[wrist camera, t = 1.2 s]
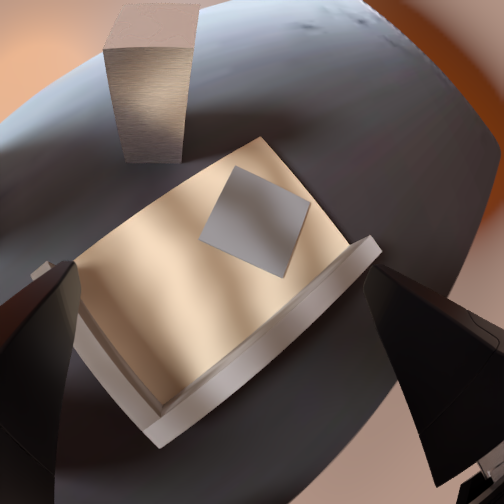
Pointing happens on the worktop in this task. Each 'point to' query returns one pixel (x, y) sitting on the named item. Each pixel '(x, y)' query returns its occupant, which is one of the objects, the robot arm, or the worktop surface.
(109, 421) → the worktop surface
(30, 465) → the robot arm
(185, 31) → the aluminium post
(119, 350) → the corner arena
